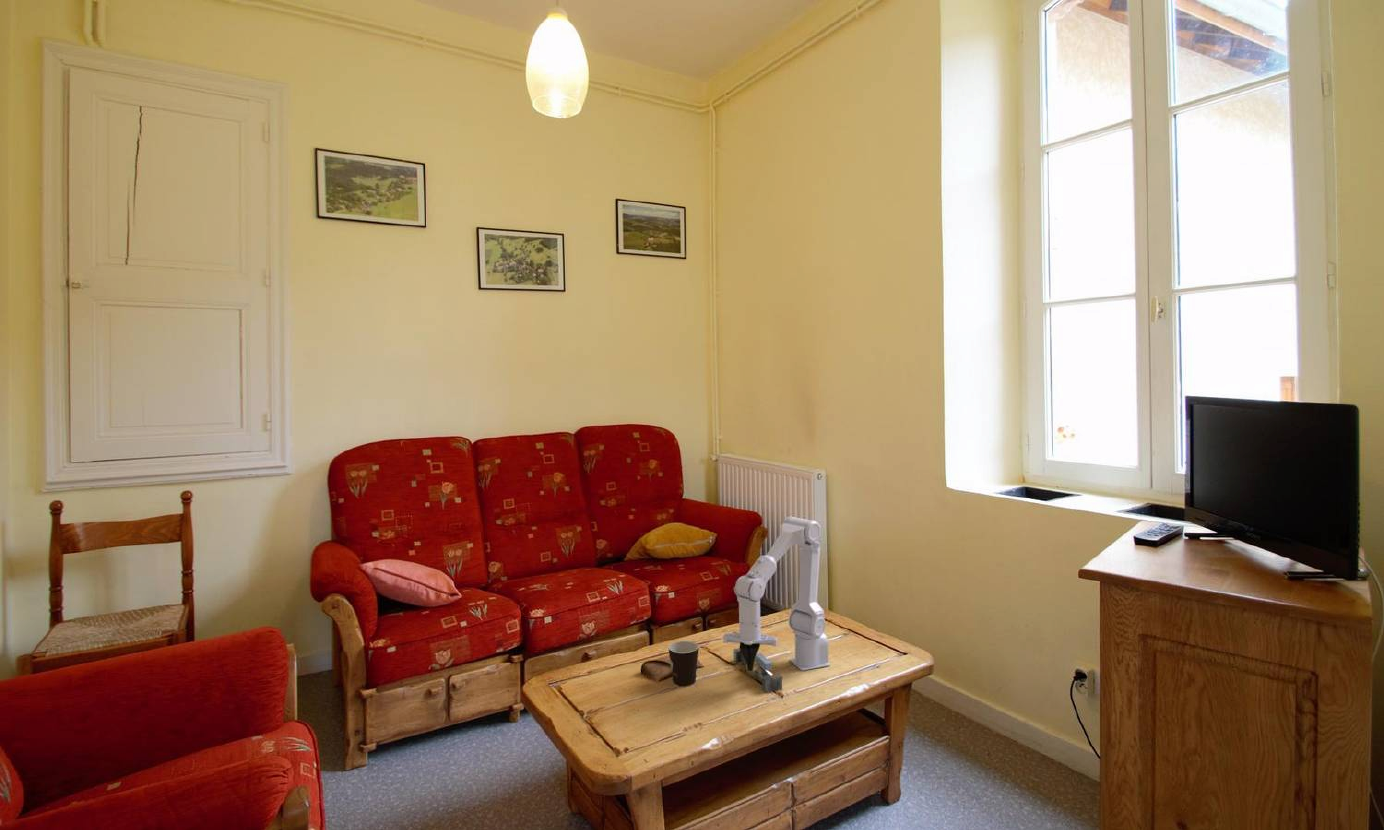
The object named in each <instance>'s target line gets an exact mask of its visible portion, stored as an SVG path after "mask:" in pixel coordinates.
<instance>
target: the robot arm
mask: <svg viewBox="0 0 1384 830" xmlns="http://www.w3.org/2000/svg"><path fill="white" fill-rule="evenodd" d="M821 542H822V526H821V525H820V523H818V522H817V520H809V519H805V518H799V517H795V516H791V515H790V516H788V517H786V518H785V520H784V521H783V523H781V525H780V534H779V536H777V538H776V540H775V541H774V543H773V544H772V546H771V547H770V549H769V550H768V552H767V554H765V555H760V556H759V557H758V558H757V559H756V561H755V563H754V564H753V565H752V566H751V568H750V569H749V570H748V572H747V573H746V574H745V575H742V576H740V577H738V579H737V580H736V581H735V585H734V587H733V592H734V594H735V595H736V598H737V599H736V600H737V602H738V615H739V616H738V620H739V622H738V624H739V625H738V627H739V628H738V629H739V630H738V631H739V632H731V633H729V632H728V633H727V632H726V633H724V634H723V637H722V639H723V641H722V642H723V644H728V643H736V644H737V643H739V648H740V651H741V652H742V654H743V656H744V659H745V662H746V665H747V670H748V671H753V668H754V661H755V657H756V654H757V653H759V649H760V647H761V646H762V645H764V646H772V647H777V645H778V636H771V635H767V634H763V633H761V599H762V597H764V595H765V592H766V591H765V589H766V588H767V583H768V582H769V580H770V579H771V577H773V575H774V574H775V572H776V571H777V569H778V568H777V567H778V566H777V563H778V562H779V560H780V559H781V558H783V556H784V555H785V553H787V551H788V550H789V549H790V548H791V547H792V546H794V545H797V546H799V548H800V550H801V552H800V553H801V554H800V570H799V583H798V584H799V585H798V587H799V588H798V601H796V602H795V603H793V604H792V605H791V609H790V610H791V611H790V614H789V617H788V624H789V625H788V626H789V627H790V629H791V630H792V633H793V634H794V657H791V658H789V659H788V660H789V661H790V662H791V663H792V664H793V665H795V667H797V668H799V670H800V671H808V670H812V669H818V668H825V667H829V666H830V665H831V664H830V663H829V639H828V637H827V635H826V634H825V633H824V632H825V629H826V620H825V611H824V609H823V608H822V607H821V605H820V604H819V603H818V585H819V570H820V556H821V544H822V543H821Z"/></svg>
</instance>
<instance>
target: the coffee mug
mask: <svg viewBox="0 0 1384 830" xmlns="http://www.w3.org/2000/svg"><path fill="white" fill-rule="evenodd" d="M667 647H668V648H667V649H668V655H669V656H670V663H671V671H672V677H671V678H672V683H673V684H674V685H675V686H677V687H683V688H684V687H690V686H693V685H695V683H696V680H697V670H698V669H697V661H699V660H698V658H699V650H700V649H699V648H700V646H699V644H698V643H696V642H694V641H691V640H677V641H674V642H671V643H670V644H669V645H668V646H667Z"/></svg>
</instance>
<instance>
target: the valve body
mask: <svg viewBox="0 0 1384 830" xmlns="http://www.w3.org/2000/svg"><path fill="white" fill-rule="evenodd" d="M733 662H734V663H735V664H742V665H744V667H745V671H746V674H745V675H746V677H748V678H749V679H753V680H759V681H760V683H762V685H761V687H762V689H761V690H762V691H763V692H764V693H767V694H768V693H774V692H776V691H777V692H778V691H783V676H782V675H780V674H779V673H775V674H773V673H772V672H771V671H770V670H765V669H764V668H763V667H762V666H761V665H760V664H759V663H758V662H757V661H754V668H753V671H748V670H747V665H746V662H745V659H744V656H743V654H742V652H741V651H740V648H733Z"/></svg>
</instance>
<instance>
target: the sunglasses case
mask: <svg viewBox="0 0 1384 830" xmlns="http://www.w3.org/2000/svg"><path fill="white" fill-rule="evenodd" d="M704 667H705V665H703V664H702V663H701V662H700V661H699V660H698V661H697V670H699V669H702V668H704ZM640 674H641V675H643V676H644V677H646V678H648V679H649V680H651V681H653V682H655V683H656V684H657V683H659V682H662V681H665V680H667V679H669V678H672V671H671V663H670V656H669V654H668V655H665V656H663V657H662V656H661V657H659V658H656V659H652V660H647V661H645V662H643V663H642V664H641V666H640Z"/></svg>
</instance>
